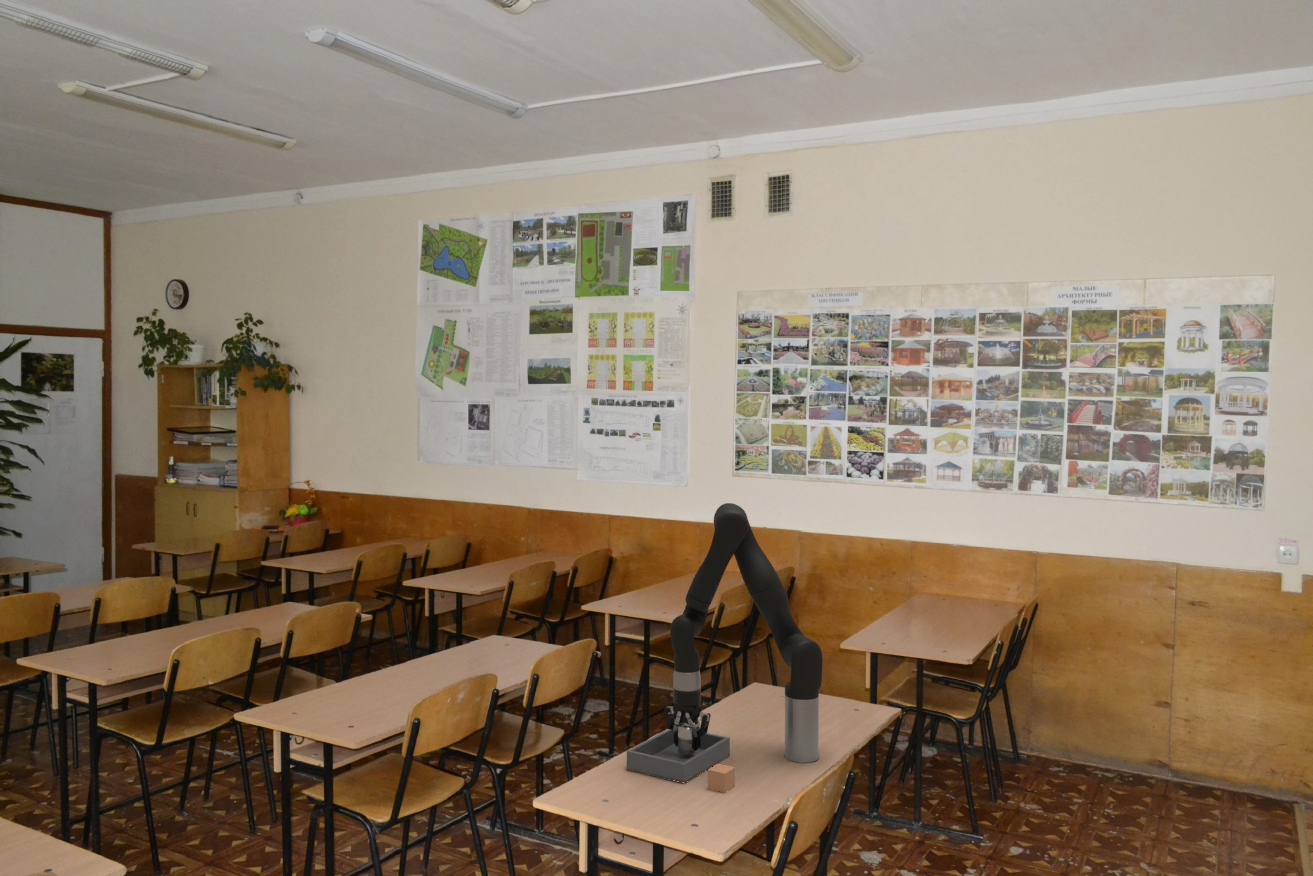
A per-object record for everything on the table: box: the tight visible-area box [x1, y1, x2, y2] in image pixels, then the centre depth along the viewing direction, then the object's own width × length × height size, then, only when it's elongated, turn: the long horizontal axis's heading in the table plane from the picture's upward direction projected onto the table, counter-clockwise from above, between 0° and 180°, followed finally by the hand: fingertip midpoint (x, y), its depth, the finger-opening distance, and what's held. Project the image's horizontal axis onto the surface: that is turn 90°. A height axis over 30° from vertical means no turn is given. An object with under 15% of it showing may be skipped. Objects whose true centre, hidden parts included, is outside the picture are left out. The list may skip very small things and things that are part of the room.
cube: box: [707, 763, 736, 794], centre depth 239 cm, size 5×5×5 cm
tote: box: [626, 728, 731, 784], centre depth 256 cm, size 24×18×5 cm
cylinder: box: [678, 723, 696, 754], centre depth 259 cm, size 5×5×7 cm
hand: (687, 747), depth 259 cm, fingers closed on cylinder, 5 cm apart
